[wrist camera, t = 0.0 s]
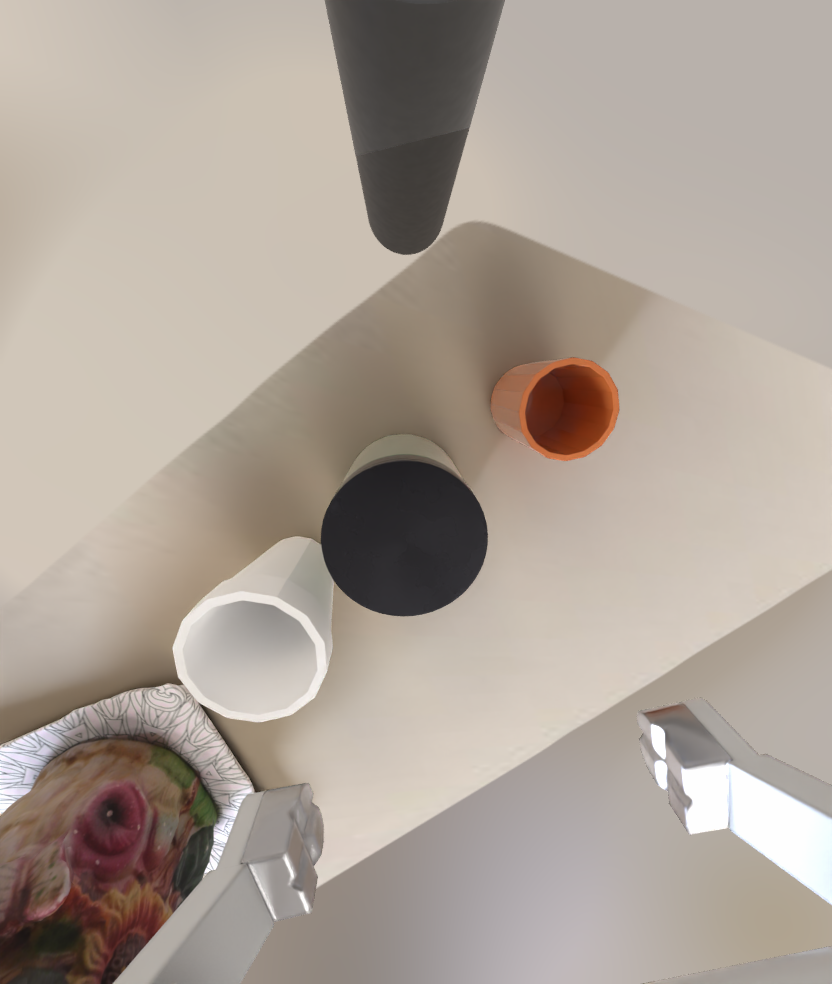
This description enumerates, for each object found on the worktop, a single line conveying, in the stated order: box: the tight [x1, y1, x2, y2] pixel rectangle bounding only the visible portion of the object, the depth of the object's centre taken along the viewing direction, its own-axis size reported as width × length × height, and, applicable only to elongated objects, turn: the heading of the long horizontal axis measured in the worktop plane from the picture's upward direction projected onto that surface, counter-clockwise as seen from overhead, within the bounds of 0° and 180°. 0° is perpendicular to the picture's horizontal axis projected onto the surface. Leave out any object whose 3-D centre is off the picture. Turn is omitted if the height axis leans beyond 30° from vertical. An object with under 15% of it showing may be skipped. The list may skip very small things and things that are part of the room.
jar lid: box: [321, 455, 488, 616], centre depth 26 cm, size 10×10×2 cm
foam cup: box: [172, 536, 334, 722], centre depth 32 cm, size 10×9×13 cm
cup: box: [490, 357, 619, 461], centre depth 31 cm, size 6×6×9 cm
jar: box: [341, 434, 466, 485], centre depth 31 cm, size 10×10×12 cm
